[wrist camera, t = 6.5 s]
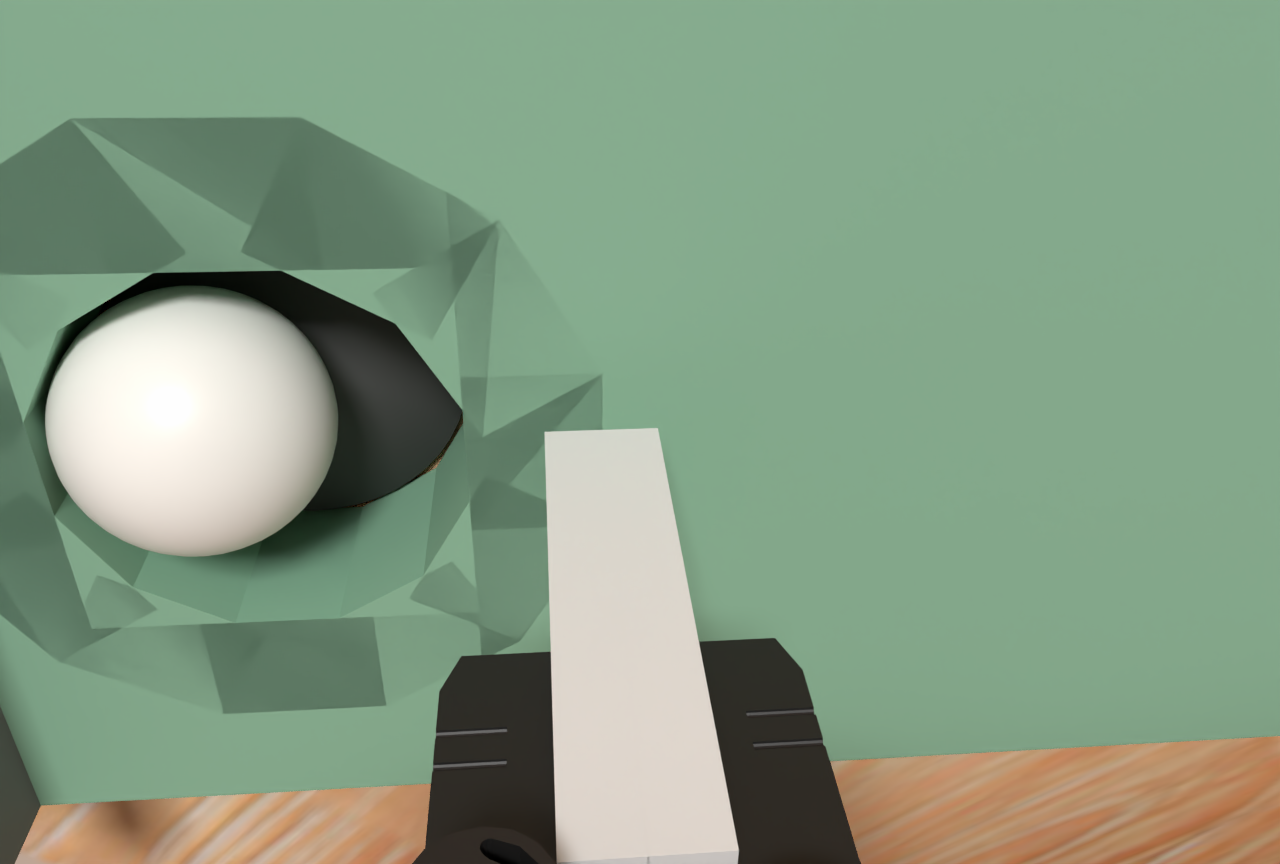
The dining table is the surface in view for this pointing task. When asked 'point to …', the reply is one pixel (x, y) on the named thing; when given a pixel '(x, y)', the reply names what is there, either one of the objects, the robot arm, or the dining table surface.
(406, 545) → the green golf putting board
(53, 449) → the ball
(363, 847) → the dining table surface
